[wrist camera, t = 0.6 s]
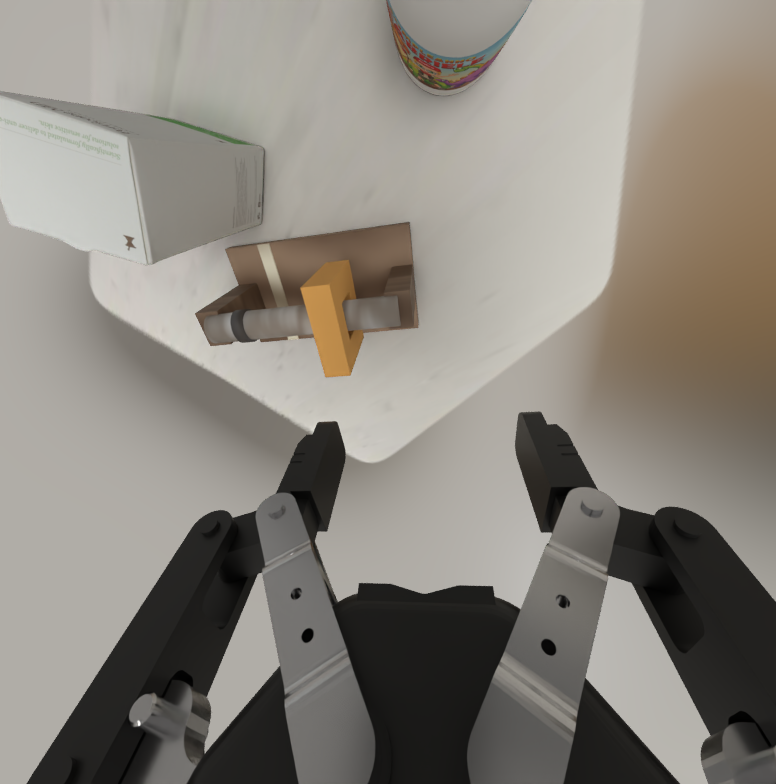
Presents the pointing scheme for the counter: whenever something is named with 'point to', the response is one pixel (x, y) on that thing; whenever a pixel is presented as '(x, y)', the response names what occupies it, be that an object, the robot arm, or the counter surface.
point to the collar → (332, 317)
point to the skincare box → (123, 179)
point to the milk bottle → (451, 39)
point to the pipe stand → (296, 266)
